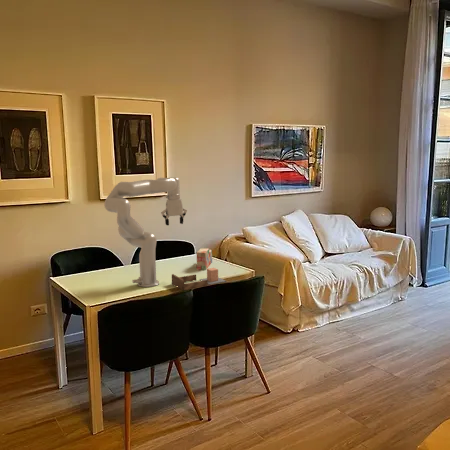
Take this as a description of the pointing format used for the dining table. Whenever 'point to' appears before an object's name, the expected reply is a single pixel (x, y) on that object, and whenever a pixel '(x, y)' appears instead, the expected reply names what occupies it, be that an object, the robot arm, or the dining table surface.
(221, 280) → the slate mat
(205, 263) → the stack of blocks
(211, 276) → the terracotta block
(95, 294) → the dining table surface
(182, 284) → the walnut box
